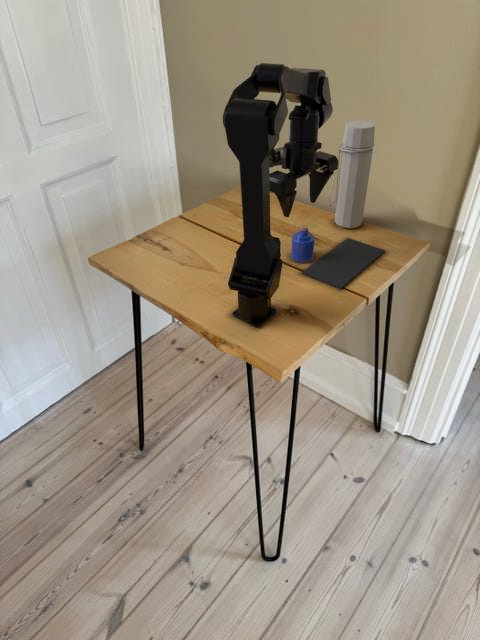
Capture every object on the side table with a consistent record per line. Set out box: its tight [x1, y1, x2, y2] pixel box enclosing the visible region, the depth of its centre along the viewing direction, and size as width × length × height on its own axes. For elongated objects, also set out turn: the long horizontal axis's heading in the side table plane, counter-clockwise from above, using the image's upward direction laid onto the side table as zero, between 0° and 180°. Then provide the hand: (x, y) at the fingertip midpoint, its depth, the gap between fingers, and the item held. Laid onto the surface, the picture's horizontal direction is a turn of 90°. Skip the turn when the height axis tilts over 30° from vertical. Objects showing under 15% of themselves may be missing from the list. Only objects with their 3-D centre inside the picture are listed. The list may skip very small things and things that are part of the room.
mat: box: [301, 237, 386, 290], centre depth 107 cm, size 20×10×1 cm, turn 140°
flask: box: [290, 224, 316, 264], centre depth 107 cm, size 5×5×8 cm
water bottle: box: [328, 119, 376, 230], centre depth 114 cm, size 9×8×25 cm
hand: (299, 209), depth 103 cm, fingers open, 9 cm apart
